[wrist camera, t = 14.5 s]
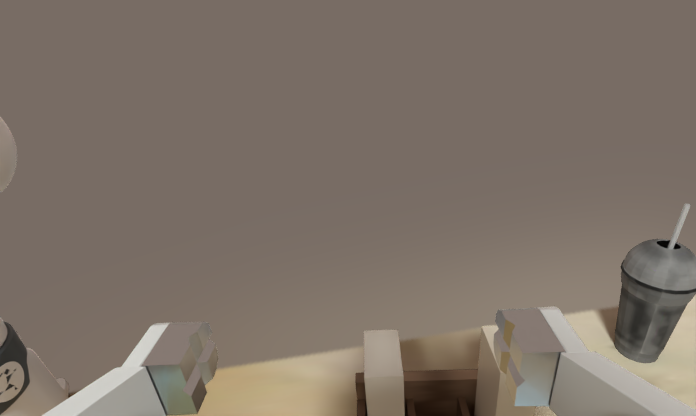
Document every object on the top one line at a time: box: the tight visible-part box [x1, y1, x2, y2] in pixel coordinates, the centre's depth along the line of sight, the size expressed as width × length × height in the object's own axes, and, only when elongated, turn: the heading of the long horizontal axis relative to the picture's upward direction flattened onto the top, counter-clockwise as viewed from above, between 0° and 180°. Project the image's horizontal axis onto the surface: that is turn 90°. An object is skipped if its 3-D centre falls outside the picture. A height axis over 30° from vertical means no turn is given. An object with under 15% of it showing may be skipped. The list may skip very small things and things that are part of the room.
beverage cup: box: [614, 204, 696, 363], centre depth 44 cm, size 7×7×20 cm
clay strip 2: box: [474, 325, 536, 416], centre depth 33 cm, size 3×5×14 cm, turn 178°
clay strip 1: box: [364, 329, 405, 416], centre depth 34 cm, size 3×5×14 cm, turn 178°
